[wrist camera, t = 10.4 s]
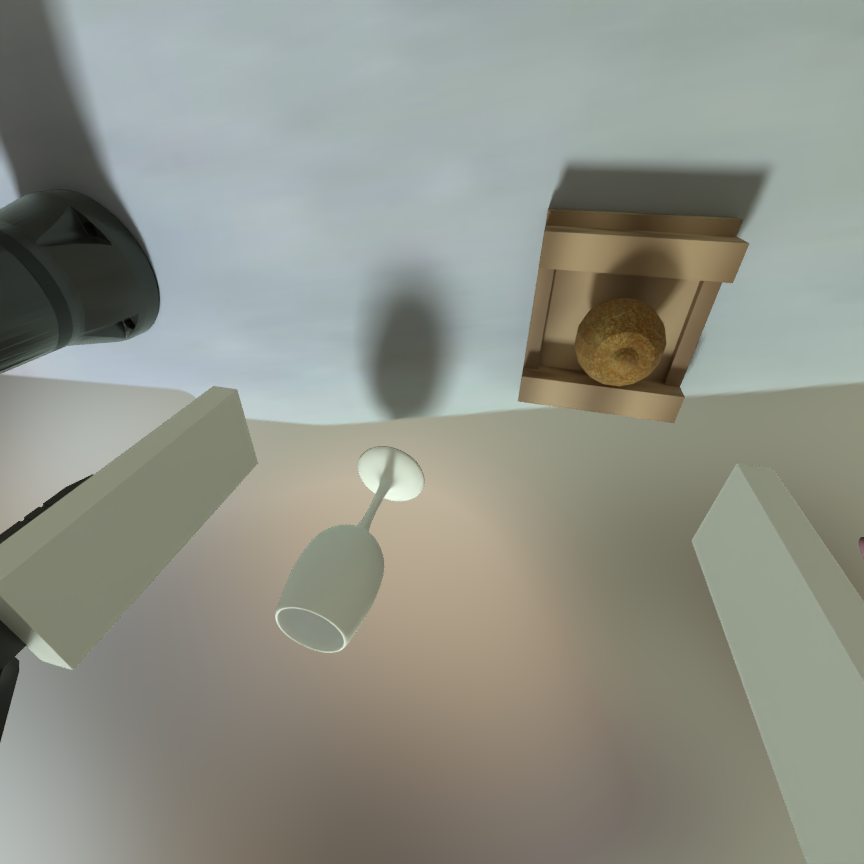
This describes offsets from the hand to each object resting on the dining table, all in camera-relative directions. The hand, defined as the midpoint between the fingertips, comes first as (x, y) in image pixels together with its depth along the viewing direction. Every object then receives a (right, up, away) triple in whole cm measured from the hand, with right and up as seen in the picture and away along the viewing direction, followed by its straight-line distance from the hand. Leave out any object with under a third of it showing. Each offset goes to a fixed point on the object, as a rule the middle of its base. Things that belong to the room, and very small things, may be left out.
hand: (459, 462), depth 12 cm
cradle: (+14, +10, +24) cm, 30 cm away
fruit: (+14, +10, +23) cm, 29 cm away
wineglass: (-6, -4, +41) cm, 41 cm away
